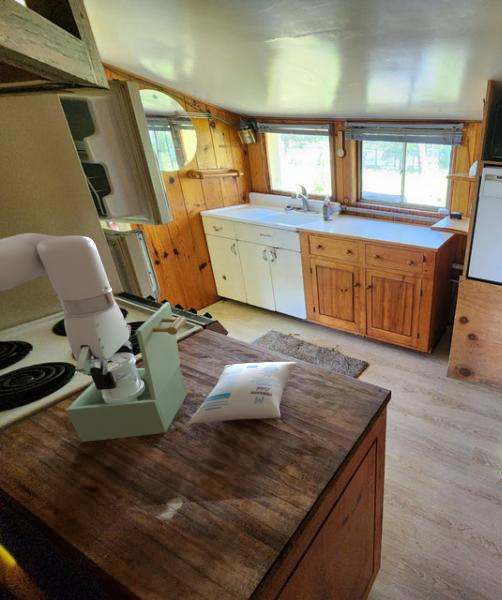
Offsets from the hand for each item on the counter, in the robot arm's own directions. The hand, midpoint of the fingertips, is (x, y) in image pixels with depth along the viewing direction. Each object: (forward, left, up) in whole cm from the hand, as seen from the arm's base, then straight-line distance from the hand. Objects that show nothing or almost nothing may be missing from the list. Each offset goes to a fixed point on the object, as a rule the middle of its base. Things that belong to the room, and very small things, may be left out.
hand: (118, 375), depth 69 cm
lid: (+9, 0, +6) cm, 11 cm away
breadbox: (+1, 0, -11) cm, 12 cm away
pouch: (+25, +1, -12) cm, 28 cm away
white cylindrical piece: (0, 0, -10) cm, 10 cm away
